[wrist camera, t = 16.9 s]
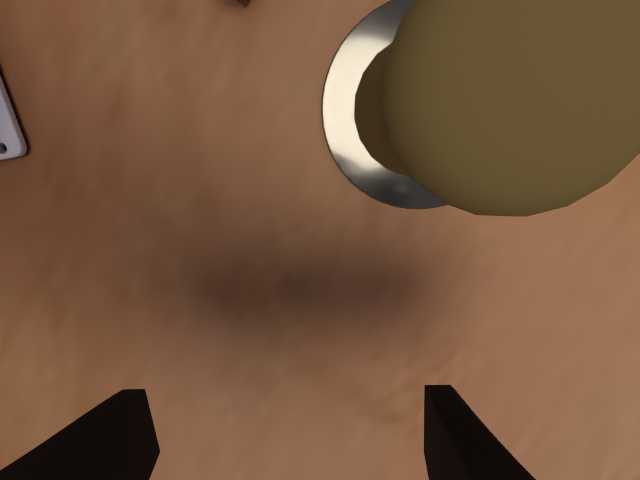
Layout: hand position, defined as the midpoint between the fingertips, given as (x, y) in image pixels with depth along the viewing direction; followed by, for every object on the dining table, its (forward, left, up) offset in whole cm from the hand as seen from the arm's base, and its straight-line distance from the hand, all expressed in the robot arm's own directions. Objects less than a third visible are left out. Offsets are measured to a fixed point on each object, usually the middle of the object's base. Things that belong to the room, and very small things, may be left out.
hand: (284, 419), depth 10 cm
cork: (+6, +7, -10) cm, 14 cm away
